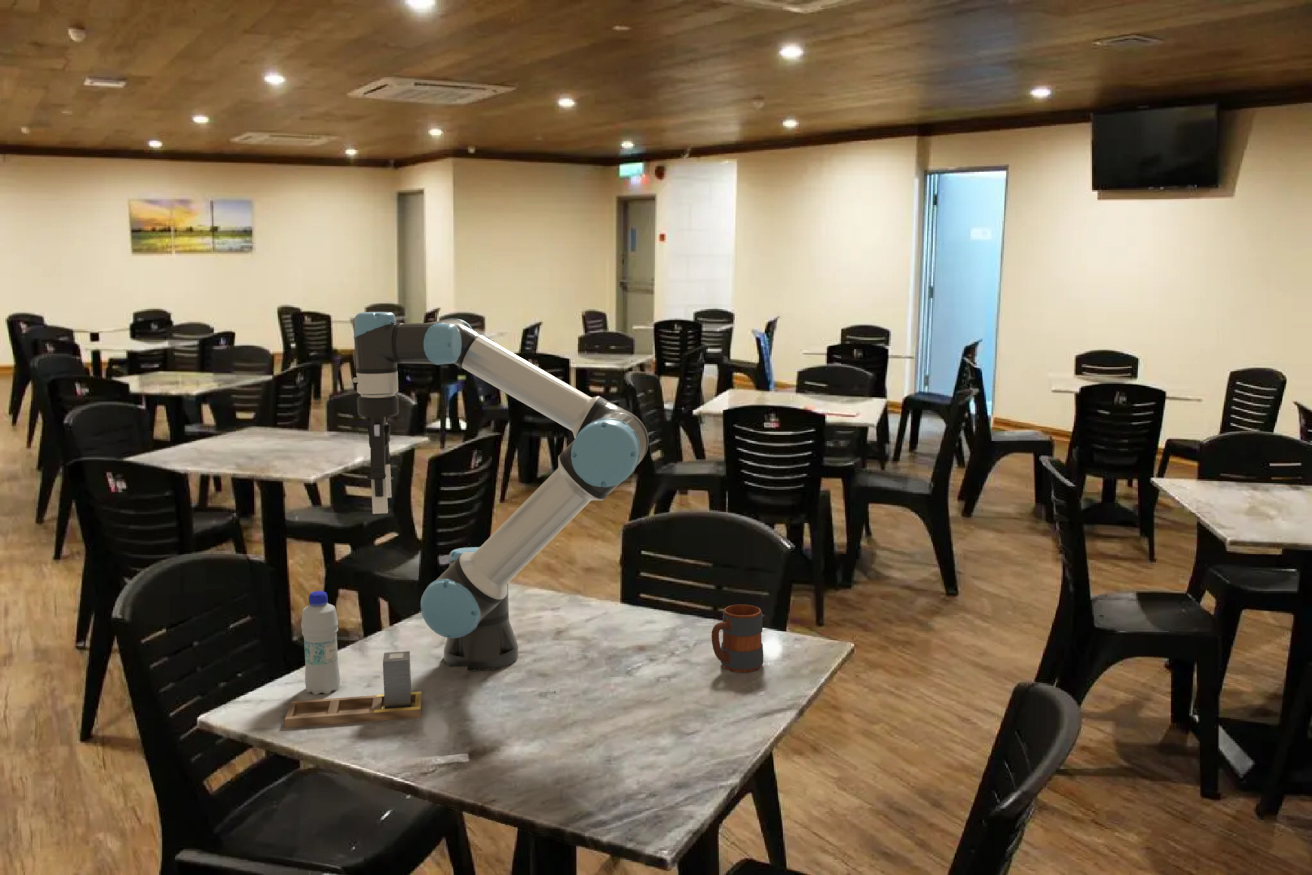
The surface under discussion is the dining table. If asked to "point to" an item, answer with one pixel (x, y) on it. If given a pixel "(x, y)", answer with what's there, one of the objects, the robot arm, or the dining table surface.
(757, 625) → the mug
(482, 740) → the dining table surface
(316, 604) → the bottle
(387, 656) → the block
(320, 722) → the wooden compartment tray
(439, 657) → the dining table surface
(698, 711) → the dining table surface
